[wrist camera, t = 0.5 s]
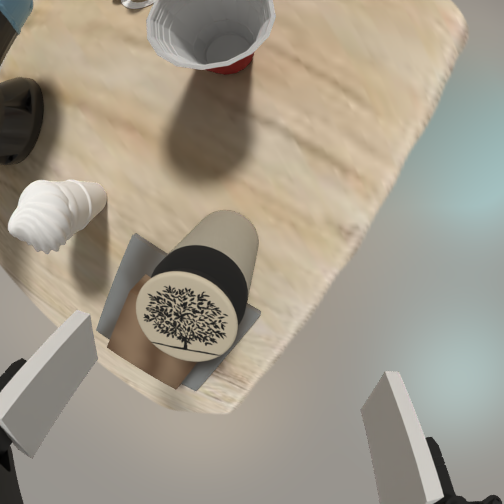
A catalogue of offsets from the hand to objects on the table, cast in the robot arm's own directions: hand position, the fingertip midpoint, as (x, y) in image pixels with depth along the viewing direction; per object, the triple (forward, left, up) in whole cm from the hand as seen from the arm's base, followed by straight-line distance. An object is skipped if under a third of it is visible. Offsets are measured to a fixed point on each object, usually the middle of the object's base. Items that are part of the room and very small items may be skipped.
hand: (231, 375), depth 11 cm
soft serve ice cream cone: (-21, -10, -25) cm, 35 cm away
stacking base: (-3, -21, -25) cm, 33 cm away
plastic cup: (-14, +15, -25) cm, 33 cm away
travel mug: (-2, -5, -25) cm, 26 cm away
